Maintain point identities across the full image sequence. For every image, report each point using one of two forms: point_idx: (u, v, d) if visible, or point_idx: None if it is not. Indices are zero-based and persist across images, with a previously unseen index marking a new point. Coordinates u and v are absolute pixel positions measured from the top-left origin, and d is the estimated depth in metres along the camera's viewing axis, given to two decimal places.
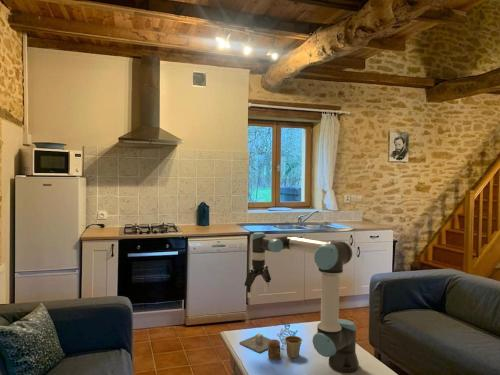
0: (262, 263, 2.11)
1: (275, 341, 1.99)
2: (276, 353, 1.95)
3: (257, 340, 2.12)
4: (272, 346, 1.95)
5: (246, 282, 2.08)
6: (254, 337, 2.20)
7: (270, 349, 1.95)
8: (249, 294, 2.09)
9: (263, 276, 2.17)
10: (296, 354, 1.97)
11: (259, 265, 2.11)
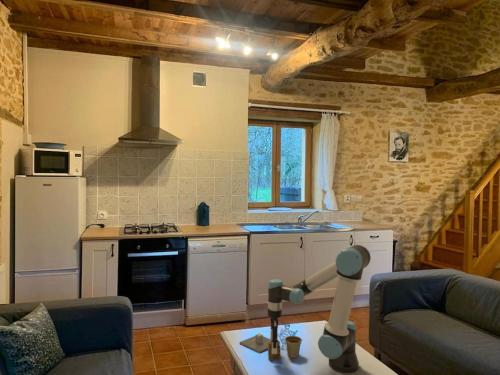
0: (281, 312, 1.97)
1: None
2: None
3: (257, 340, 2.12)
4: None
5: (274, 338, 1.89)
6: (254, 337, 2.20)
7: (270, 349, 1.95)
8: (274, 350, 1.91)
9: None
10: (296, 354, 1.97)
11: (280, 315, 1.96)
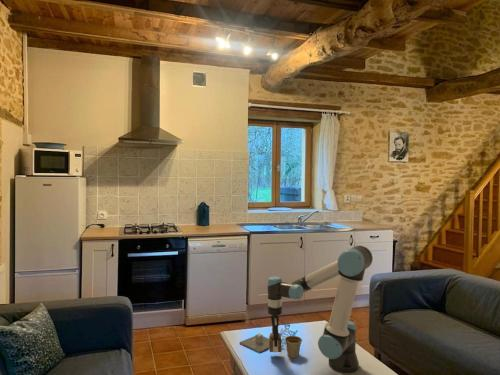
0: (281, 309, 1.97)
1: None
2: None
3: (257, 340, 2.12)
4: None
5: (275, 337, 1.91)
6: (254, 337, 2.20)
7: (271, 342, 1.95)
8: (275, 348, 1.94)
9: None
10: (296, 354, 1.97)
11: (280, 312, 1.96)
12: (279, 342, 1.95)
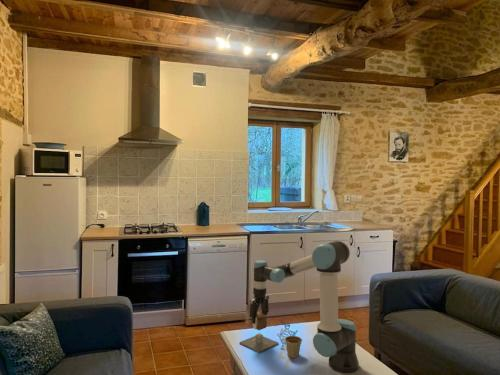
0: (263, 292, 2.10)
1: (260, 313, 2.13)
2: None
3: (257, 340, 2.12)
4: None
5: (251, 314, 2.08)
6: (254, 337, 2.20)
7: None
8: (254, 325, 2.10)
9: (262, 306, 2.14)
10: (296, 354, 1.97)
11: (260, 294, 2.09)
12: (257, 321, 2.09)
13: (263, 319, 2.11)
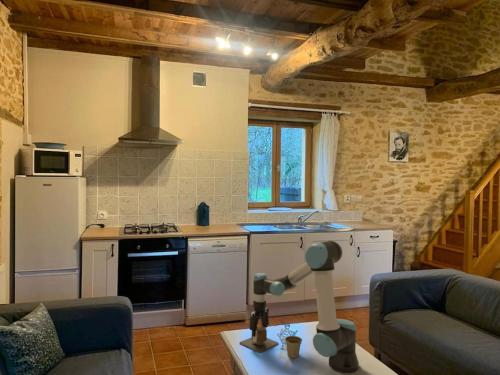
0: (263, 305, 2.10)
1: (260, 326, 2.13)
2: None
3: None
4: None
5: (251, 327, 2.08)
6: None
7: None
8: (254, 338, 2.10)
9: (262, 319, 2.15)
10: (296, 354, 1.97)
11: (260, 307, 2.09)
12: (258, 334, 2.09)
13: (263, 332, 2.11)
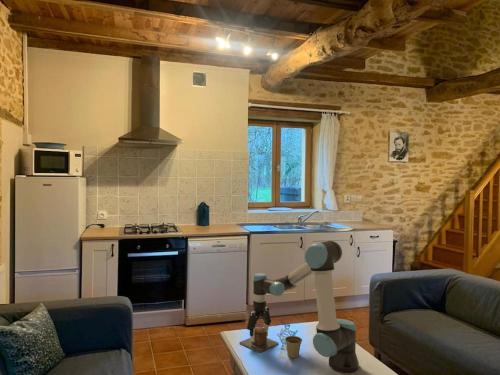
0: (263, 305, 2.10)
1: (260, 328, 2.13)
2: (256, 339, 2.10)
3: None
4: None
5: (248, 326, 2.07)
6: None
7: None
8: (252, 338, 2.09)
9: (263, 318, 2.15)
10: (296, 354, 1.97)
11: (260, 307, 2.09)
12: (258, 336, 2.09)
13: (263, 334, 2.11)
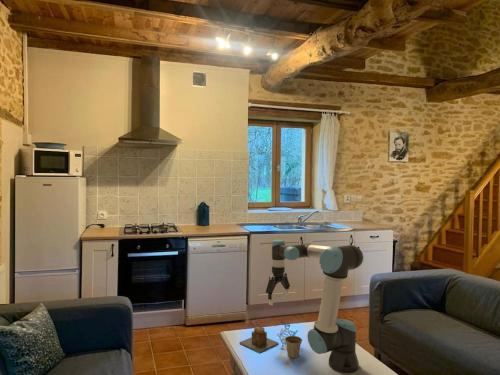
0: (282, 270, 2.14)
1: (260, 328, 2.13)
2: (256, 339, 2.10)
3: None
4: (254, 331, 2.12)
5: (267, 289, 2.10)
6: None
7: (252, 333, 2.12)
8: (270, 301, 2.11)
9: (282, 283, 2.20)
10: (296, 354, 1.97)
11: (279, 272, 2.13)
12: (258, 336, 2.09)
13: (263, 334, 2.11)
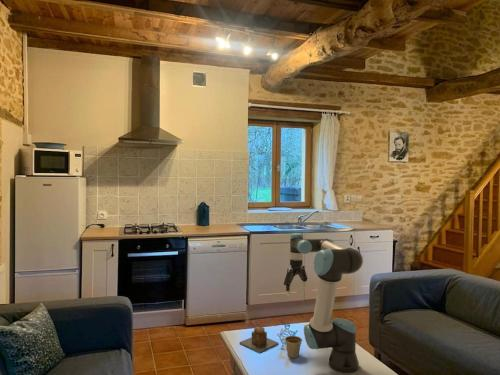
0: (300, 263, 2.19)
1: (260, 328, 2.13)
2: (256, 339, 2.10)
3: None
4: (254, 331, 2.12)
5: (285, 281, 2.15)
6: None
7: (252, 333, 2.12)
8: (288, 293, 2.17)
9: (300, 275, 2.25)
10: (296, 354, 1.97)
11: (297, 265, 2.18)
12: (258, 336, 2.09)
13: (263, 334, 2.11)
